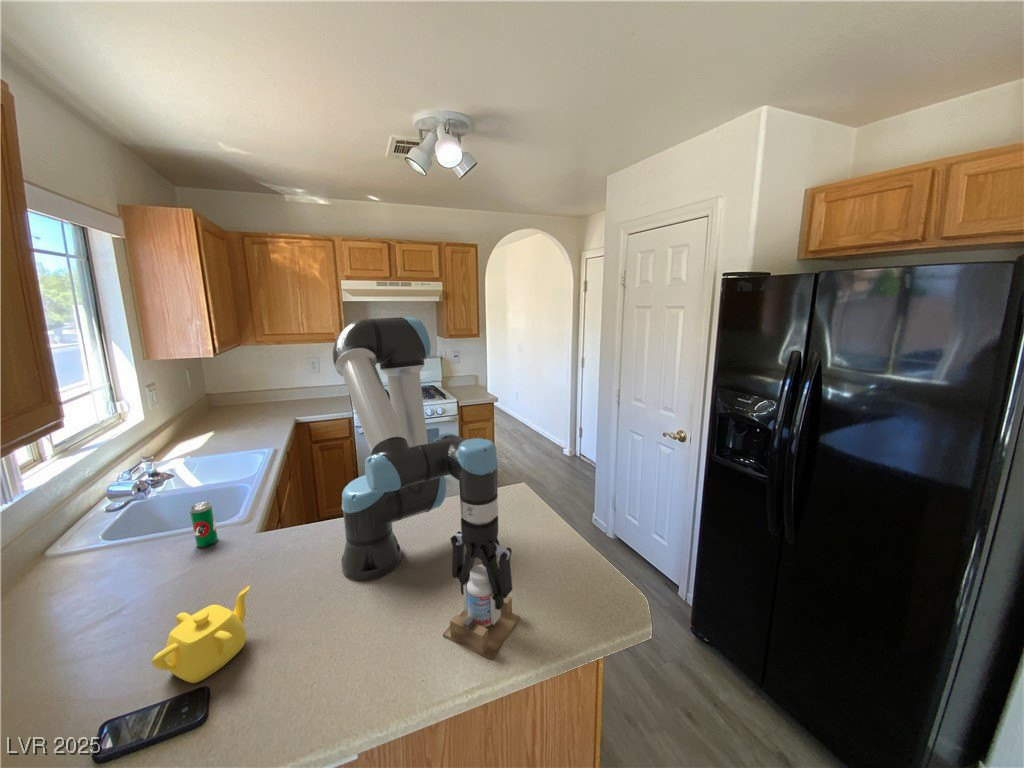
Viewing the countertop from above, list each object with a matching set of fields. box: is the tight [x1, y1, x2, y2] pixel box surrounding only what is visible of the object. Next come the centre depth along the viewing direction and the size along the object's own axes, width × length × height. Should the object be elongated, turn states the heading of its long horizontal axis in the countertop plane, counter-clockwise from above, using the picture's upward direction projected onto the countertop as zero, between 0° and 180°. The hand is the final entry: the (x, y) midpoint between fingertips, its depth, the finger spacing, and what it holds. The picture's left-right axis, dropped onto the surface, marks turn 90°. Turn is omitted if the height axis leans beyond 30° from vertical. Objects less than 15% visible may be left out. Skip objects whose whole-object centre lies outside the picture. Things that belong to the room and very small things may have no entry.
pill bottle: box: [467, 564, 493, 627], centre depth 85 cm, size 6×6×11 cm
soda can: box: [189, 501, 219, 548], centre depth 116 cm, size 5×5×12 cm
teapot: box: [151, 585, 251, 684], centre depth 79 cm, size 14×13×10 cm
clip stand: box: [442, 595, 521, 661], centre depth 87 cm, size 12×12×6 cm
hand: (482, 613), depth 87 cm, fingers closed on pill bottle, 6 cm apart
